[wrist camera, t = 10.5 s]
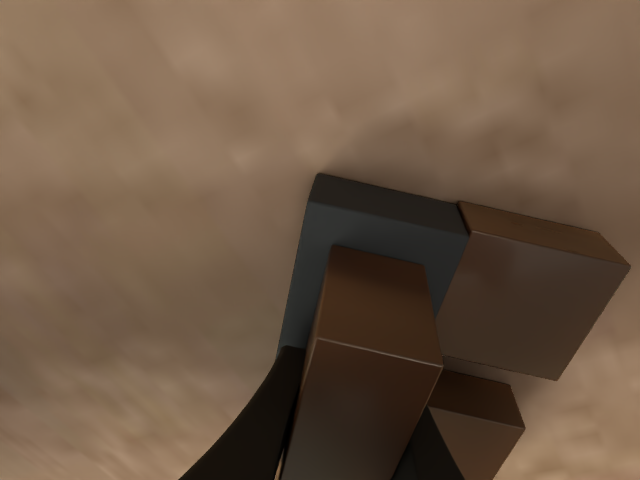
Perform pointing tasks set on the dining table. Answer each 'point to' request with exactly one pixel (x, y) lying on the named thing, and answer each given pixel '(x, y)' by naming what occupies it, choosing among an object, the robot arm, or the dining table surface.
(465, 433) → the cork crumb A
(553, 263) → the brown flat block
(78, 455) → the dining table surface
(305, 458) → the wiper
